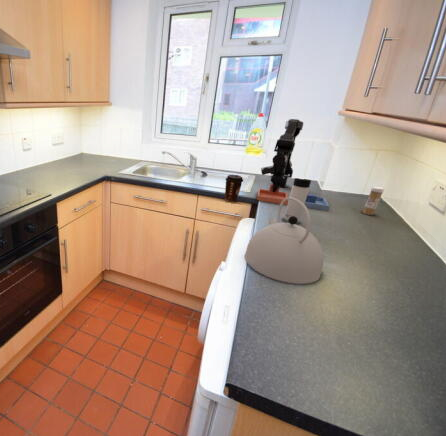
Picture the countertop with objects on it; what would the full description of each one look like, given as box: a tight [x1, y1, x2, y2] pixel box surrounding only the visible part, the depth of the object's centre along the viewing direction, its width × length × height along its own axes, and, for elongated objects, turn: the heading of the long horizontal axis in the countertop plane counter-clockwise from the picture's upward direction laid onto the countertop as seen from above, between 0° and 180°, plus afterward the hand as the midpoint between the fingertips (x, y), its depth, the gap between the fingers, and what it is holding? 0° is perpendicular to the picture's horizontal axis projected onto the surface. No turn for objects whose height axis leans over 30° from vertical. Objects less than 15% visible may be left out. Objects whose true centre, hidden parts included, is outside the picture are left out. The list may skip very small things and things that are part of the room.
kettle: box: [244, 196, 325, 285], centre depth 96 cm, size 25×23×22 cm
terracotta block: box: [268, 182, 281, 194], centre depth 160 cm, size 4×4×4 cm
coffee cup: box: [224, 174, 244, 203], centre depth 156 cm, size 9×8×13 cm
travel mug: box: [283, 177, 312, 225], centre depth 130 cm, size 6×7×20 cm
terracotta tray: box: [256, 188, 289, 206], centre depth 162 cm, size 15×15×2 cm
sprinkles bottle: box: [362, 185, 385, 216], centre depth 142 cm, size 5×5×14 cm
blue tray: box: [304, 196, 330, 211], centre depth 156 cm, size 15×15×2 cm
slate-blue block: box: [305, 192, 318, 203], centre depth 155 cm, size 4×4×4 cm
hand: (273, 190), depth 161 cm, fingers closed on terracotta block, 4 cm apart
